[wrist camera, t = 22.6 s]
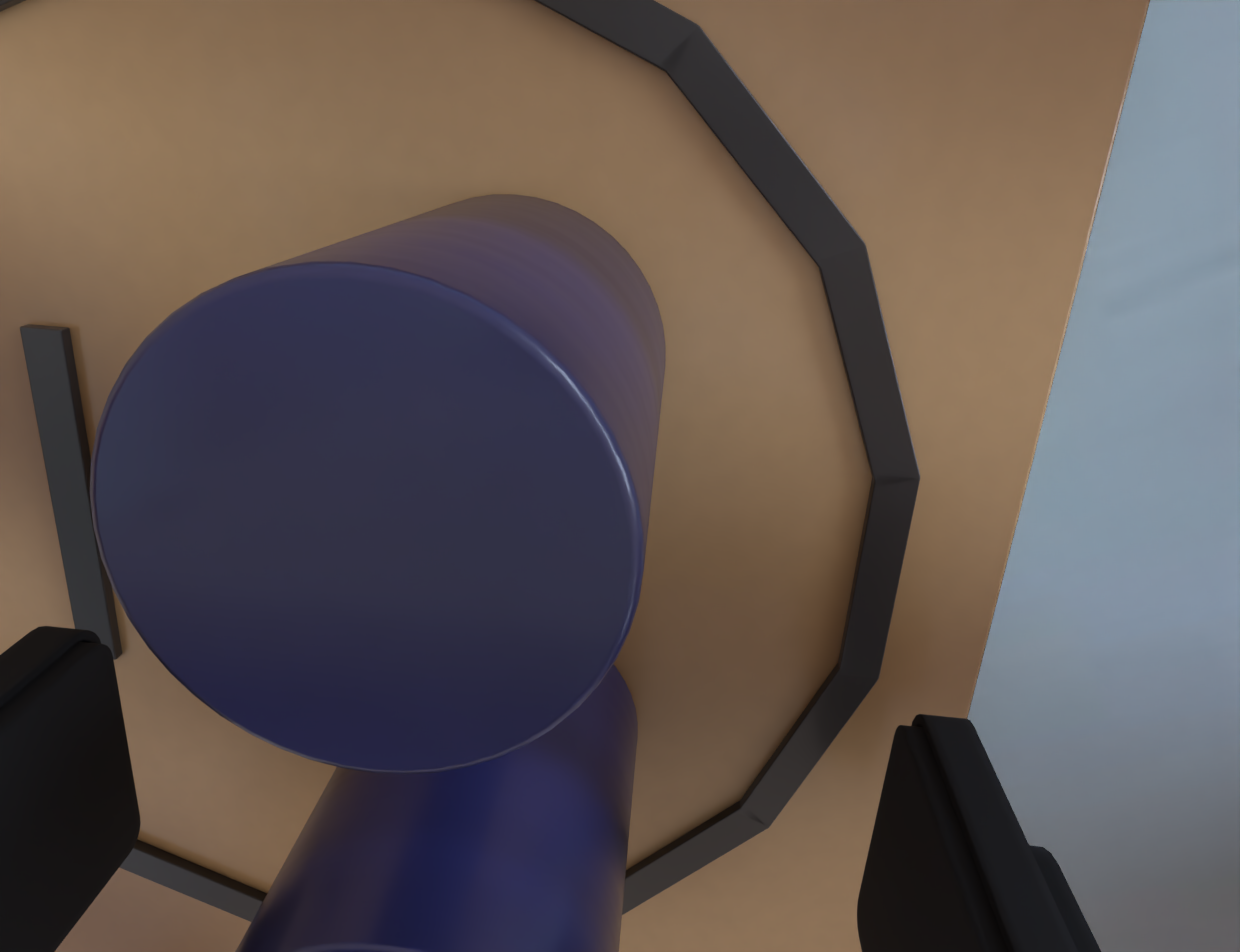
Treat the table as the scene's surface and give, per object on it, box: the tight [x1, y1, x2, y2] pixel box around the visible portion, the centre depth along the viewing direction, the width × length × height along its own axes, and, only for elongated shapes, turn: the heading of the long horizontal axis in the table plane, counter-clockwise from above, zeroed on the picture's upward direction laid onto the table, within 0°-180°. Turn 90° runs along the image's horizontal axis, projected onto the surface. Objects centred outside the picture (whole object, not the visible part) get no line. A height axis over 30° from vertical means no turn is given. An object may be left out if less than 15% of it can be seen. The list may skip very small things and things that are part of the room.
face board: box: [0, 0, 1150, 952], centre depth 11 cm, size 20×16×1 cm
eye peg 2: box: [235, 664, 638, 952], centre depth 10 cm, size 3×3×5 cm
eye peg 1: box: [90, 194, 666, 774], centre depth 8 cm, size 3×3×5 cm
